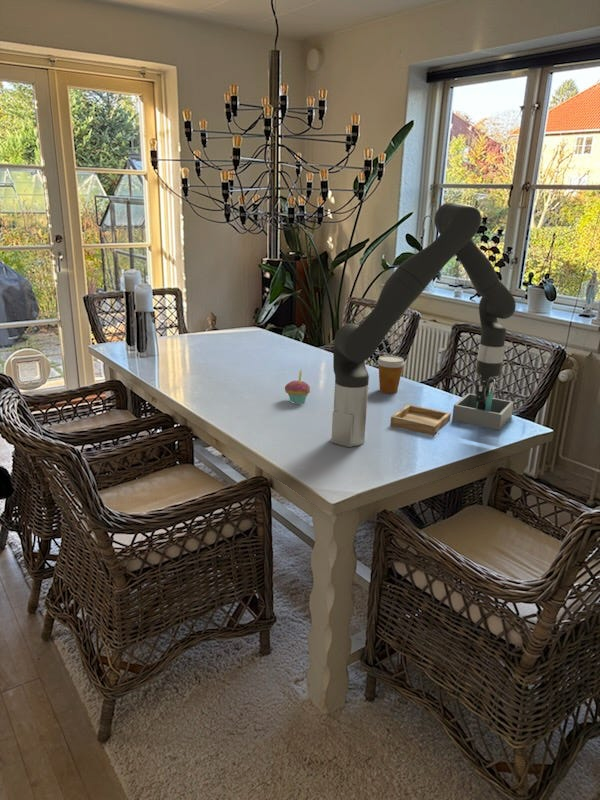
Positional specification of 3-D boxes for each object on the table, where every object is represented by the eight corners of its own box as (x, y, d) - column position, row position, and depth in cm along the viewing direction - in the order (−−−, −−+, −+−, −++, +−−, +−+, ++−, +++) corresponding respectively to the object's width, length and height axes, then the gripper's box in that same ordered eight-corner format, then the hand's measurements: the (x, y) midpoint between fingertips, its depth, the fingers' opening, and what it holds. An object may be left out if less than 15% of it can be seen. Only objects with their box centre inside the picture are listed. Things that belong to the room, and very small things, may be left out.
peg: (487, 421, 189) (490, 394, 186) (473, 418, 191) (476, 391, 188) (491, 417, 193) (494, 390, 190) (477, 415, 195) (480, 388, 192)
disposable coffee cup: (405, 389, 221) (408, 357, 217) (395, 396, 213) (398, 363, 209) (381, 385, 226) (383, 353, 222) (370, 391, 218) (373, 359, 214)
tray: (433, 436, 179) (435, 426, 178) (390, 425, 186) (391, 416, 185) (449, 422, 191) (450, 413, 190) (408, 413, 198) (408, 404, 197)
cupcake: (314, 403, 204) (315, 369, 200) (292, 407, 200) (293, 372, 196) (301, 396, 211) (302, 362, 207) (280, 399, 207) (280, 365, 203)
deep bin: (498, 433, 183) (501, 414, 181) (451, 423, 190) (453, 404, 188) (511, 419, 195) (513, 401, 193) (466, 410, 202) (468, 393, 200)
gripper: (496, 366, 178) (488, 420, 184) (508, 356, 190) (501, 408, 195) (470, 361, 182) (464, 415, 187) (484, 352, 193) (477, 403, 199)
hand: (483, 411), depth 191 cm, fingers closed on peg, 4 cm apart
